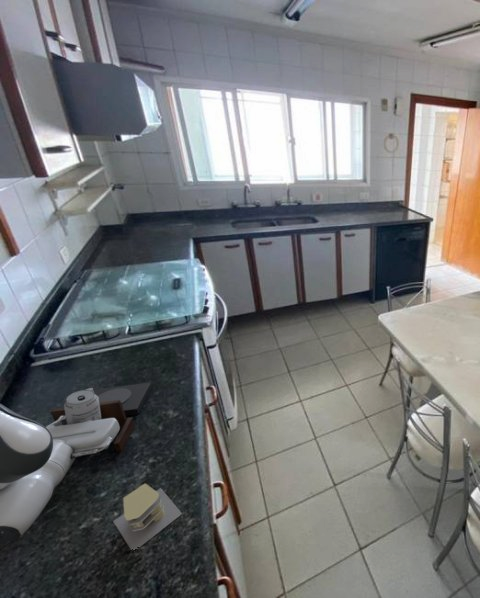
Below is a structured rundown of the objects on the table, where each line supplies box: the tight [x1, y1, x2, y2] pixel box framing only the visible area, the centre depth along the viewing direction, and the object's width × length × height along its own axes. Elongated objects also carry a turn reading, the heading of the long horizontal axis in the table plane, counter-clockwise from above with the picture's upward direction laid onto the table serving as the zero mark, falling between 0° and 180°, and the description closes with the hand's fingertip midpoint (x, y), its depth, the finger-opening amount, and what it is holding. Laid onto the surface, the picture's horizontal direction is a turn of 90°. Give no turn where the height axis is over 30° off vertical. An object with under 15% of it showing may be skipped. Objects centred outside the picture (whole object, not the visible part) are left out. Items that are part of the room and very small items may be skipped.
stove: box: [85, 381, 153, 417], centre depth 96 cm, size 16×12×4 cm
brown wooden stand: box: [50, 400, 136, 453], centre depth 82 cm, size 17×10×9 cm, turn 109°
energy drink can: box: [63, 389, 101, 425], centre depth 81 cm, size 6×6×15 cm
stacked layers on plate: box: [112, 483, 183, 551], centre depth 68 cm, size 10×9×6 cm
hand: (78, 415), depth 81 cm, fingers closed on energy drink can, 3 cm apart
